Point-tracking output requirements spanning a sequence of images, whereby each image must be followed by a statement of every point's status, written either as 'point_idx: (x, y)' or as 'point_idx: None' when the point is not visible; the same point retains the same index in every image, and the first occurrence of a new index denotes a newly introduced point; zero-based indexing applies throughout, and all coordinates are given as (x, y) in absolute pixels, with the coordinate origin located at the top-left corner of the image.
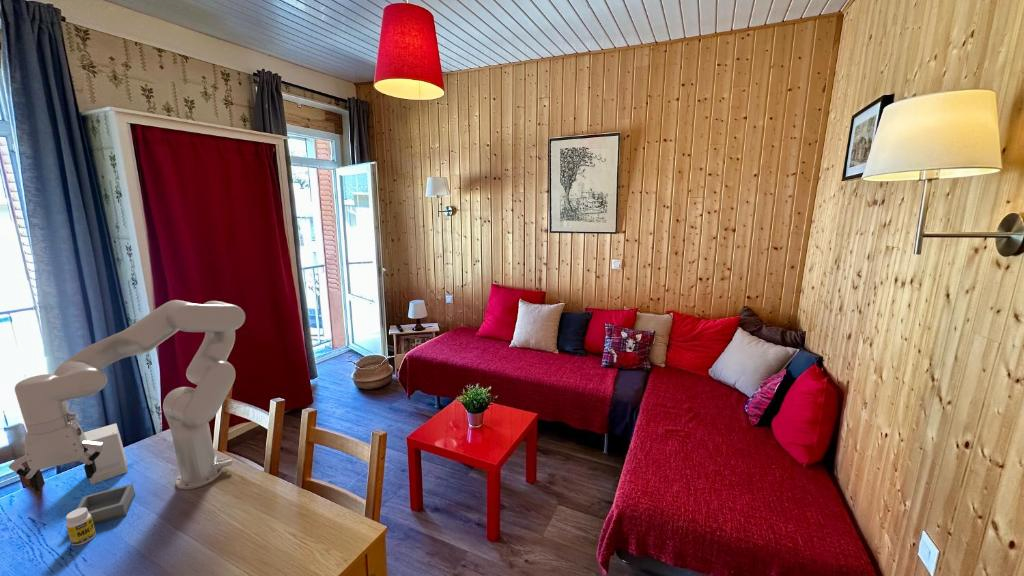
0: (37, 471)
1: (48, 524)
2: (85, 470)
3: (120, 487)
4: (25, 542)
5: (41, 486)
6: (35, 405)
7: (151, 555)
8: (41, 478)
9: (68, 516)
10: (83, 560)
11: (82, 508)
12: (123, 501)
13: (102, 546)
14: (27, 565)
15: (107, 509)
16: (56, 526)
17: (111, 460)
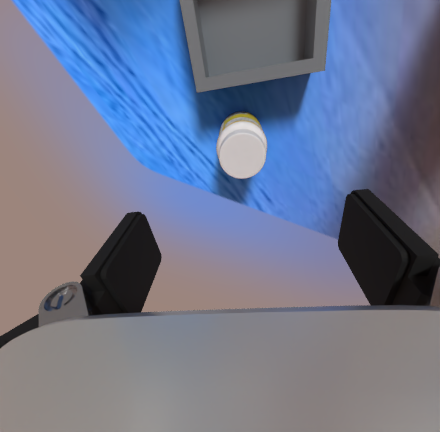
0: (100, 310)
1: (112, 18)
2: (365, 291)
3: None
4: (111, 91)
5: (152, 244)
6: None
7: None
8: (132, 255)
9: (227, 166)
10: (265, 198)
11: (250, 140)
12: (324, 50)
13: (286, 174)
14: (172, 174)
15: (283, 77)
16: (143, 42)
17: None
